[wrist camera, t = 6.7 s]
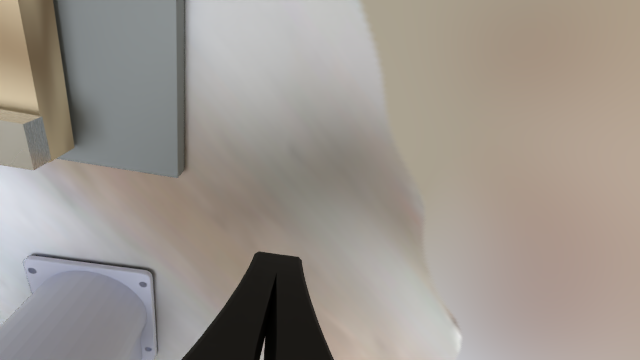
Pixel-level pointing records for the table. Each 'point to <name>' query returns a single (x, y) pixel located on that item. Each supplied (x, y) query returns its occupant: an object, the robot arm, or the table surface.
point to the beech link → (34, 69)
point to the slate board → (124, 82)
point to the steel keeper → (23, 140)
